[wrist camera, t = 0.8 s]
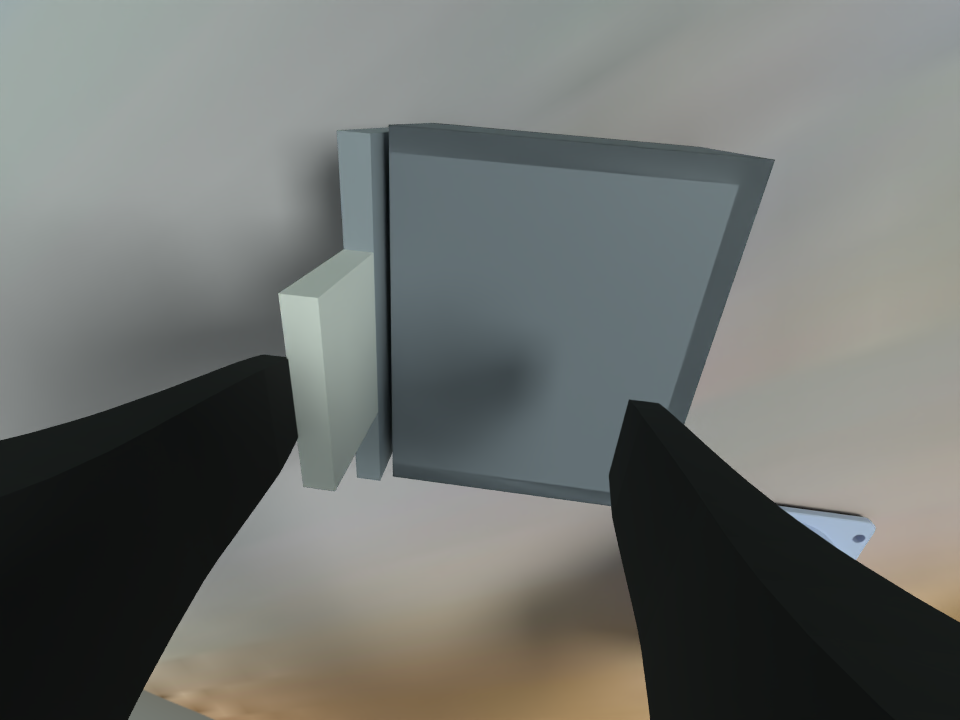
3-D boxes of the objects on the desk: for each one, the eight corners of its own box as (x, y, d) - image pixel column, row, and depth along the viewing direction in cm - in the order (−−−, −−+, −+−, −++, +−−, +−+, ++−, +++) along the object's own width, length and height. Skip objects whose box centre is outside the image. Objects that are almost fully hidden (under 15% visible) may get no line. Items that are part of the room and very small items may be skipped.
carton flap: (416, 395, 21) (341, 568, 13) (399, 393, 21) (313, 564, 13) (421, 128, 16) (303, 139, 8) (398, 127, 16) (257, 134, 8)
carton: (626, 419, 21) (654, 512, 16) (425, 394, 21) (392, 476, 16) (700, 147, 16) (775, 159, 11) (433, 123, 16) (389, 124, 11)
